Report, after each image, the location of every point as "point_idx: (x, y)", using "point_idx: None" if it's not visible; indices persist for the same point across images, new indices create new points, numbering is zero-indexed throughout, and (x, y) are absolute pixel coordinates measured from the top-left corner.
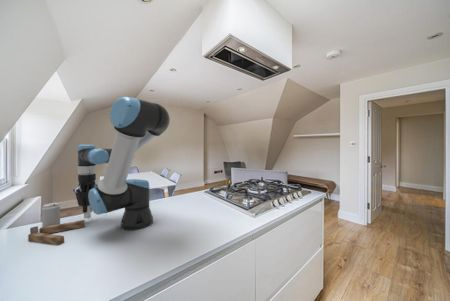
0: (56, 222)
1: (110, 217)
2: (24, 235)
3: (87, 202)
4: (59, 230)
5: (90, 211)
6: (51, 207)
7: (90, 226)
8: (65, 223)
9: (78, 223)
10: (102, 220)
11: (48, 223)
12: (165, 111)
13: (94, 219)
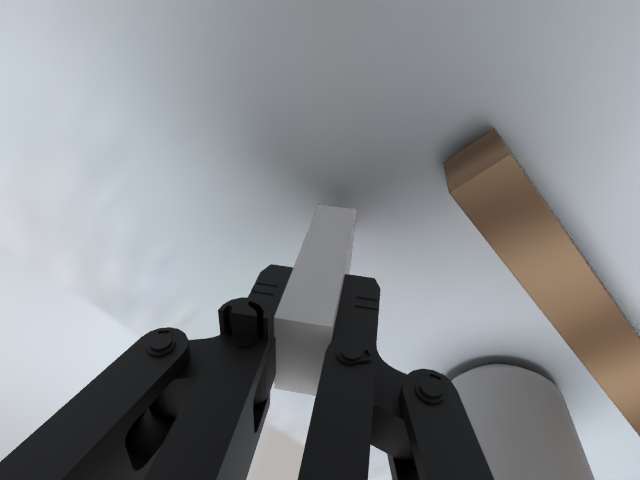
0: (529, 410)
1: (145, 34)
2: (618, 462)
3: (325, 402)
4: (612, 298)
5: (304, 249)
6: None
7: (461, 68)
8: (569, 322)
9: (539, 198)
10: (257, 66)
11: (580, 447)
12: None
13: (255, 194)
